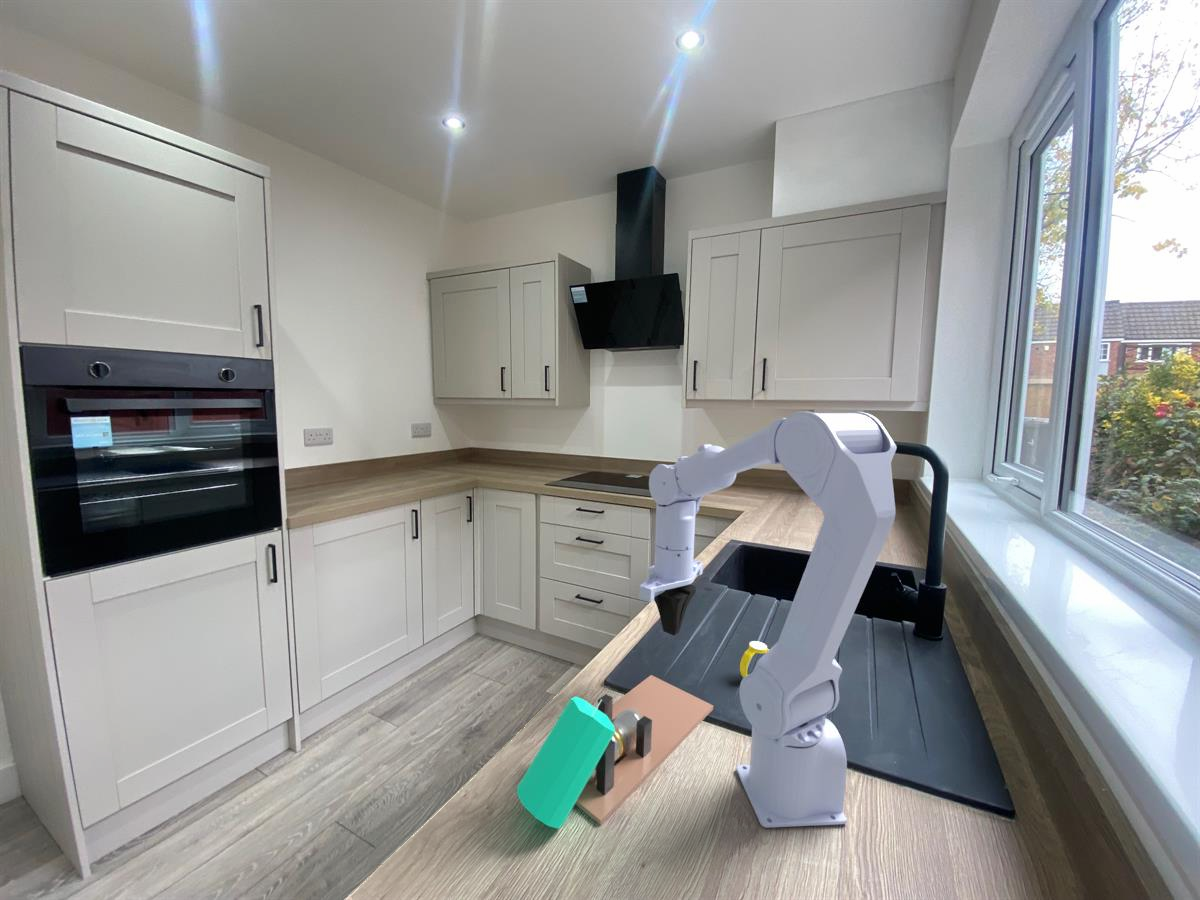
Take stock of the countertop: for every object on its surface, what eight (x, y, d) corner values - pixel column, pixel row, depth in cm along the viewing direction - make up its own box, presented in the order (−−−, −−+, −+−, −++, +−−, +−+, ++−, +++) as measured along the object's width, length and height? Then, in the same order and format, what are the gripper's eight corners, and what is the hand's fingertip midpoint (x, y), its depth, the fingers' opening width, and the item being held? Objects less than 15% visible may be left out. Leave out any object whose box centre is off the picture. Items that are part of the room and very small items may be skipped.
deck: (651, 678, 75) (651, 674, 75) (713, 709, 68) (713, 705, 68) (532, 769, 56) (532, 764, 56) (600, 825, 49) (600, 820, 49)
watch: (761, 672, 78) (765, 638, 77) (774, 681, 75) (779, 646, 75) (734, 678, 75) (738, 643, 75) (747, 688, 73) (751, 652, 72)
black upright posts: (605, 722, 64) (606, 684, 63) (650, 750, 59) (652, 709, 58) (557, 760, 57) (558, 717, 56) (604, 795, 52) (605, 749, 51)
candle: (537, 786, 53) (595, 688, 56) (572, 828, 49) (632, 720, 52) (506, 783, 49) (570, 678, 52) (542, 829, 45) (609, 712, 48)
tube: (624, 721, 64) (628, 698, 63) (646, 737, 61) (651, 713, 61) (565, 775, 54) (568, 749, 53) (588, 797, 52) (593, 769, 51)
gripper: (677, 529, 77) (674, 607, 78) (622, 549, 66) (620, 640, 67) (716, 538, 72) (712, 621, 74) (664, 562, 61) (661, 658, 63)
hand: (670, 631), depth 70 cm, fingers closed
